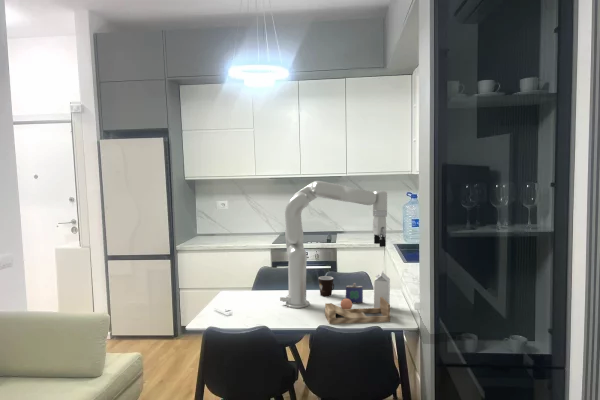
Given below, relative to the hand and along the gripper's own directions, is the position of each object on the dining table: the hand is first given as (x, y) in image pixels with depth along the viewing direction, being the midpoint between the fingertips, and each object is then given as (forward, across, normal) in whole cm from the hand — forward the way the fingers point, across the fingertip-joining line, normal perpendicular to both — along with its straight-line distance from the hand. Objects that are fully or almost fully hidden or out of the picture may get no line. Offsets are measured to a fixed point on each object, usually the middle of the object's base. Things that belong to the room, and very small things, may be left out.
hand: (379, 245), depth 224 cm
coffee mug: (+31, -14, -27) cm, 44 cm away
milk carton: (+31, +11, -2) cm, 33 cm away
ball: (+31, +12, -21) cm, 39 cm away
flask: (+31, 0, -14) cm, 34 cm away
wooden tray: (+31, +24, -18) cm, 43 cm away
